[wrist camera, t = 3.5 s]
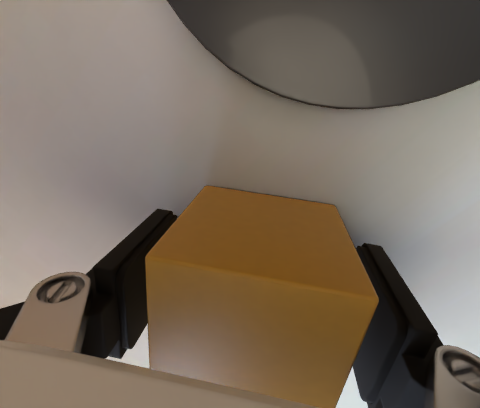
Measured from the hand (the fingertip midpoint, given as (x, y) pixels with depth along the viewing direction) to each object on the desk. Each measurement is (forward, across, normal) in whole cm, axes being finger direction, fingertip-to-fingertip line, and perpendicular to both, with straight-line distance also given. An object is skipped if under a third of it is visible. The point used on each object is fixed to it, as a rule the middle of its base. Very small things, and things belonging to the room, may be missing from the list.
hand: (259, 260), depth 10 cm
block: (+1, 0, 0) cm, 1 cm away
